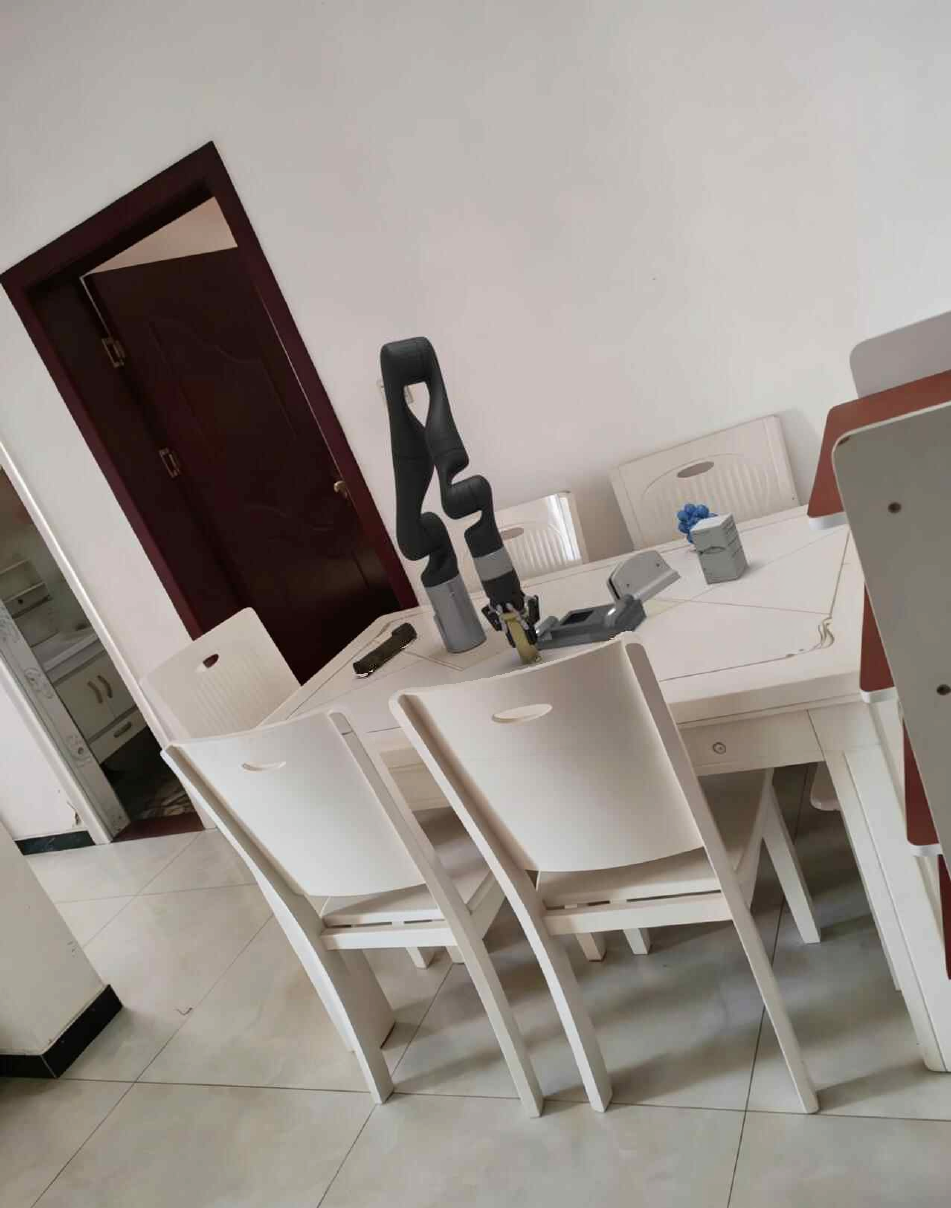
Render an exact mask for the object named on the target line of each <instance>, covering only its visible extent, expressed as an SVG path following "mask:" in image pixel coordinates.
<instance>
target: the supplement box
mask: <svg viewBox="0 0 951 1208" xmlns="http://www.w3.org/2000/svg"><path fill="white" fill-rule="evenodd" d="M690 534H691V537H692V540H693V543H694V544H693V545H694V546H693V547H694V548H695V552H696V555H697V558H698V560H699V561H698V562H699V564H700V567H701V570H702V574H703V576H704V579H705V583H706V585H710V584H714V583H715V584H716V583H719V582H720V583H721V582H727V581H735V580H738V579H739V578H740V577H742V575H743V574H744V573H745V571H746V570H747V569H748V568H749V564H748V561H747V558H746V555H745V551H744V548H743V545H742V541H741V539H740V538H741V537H740V535H739V532H738V529H737V526H736V522H735V519H734V515H733V513H728V514H722V515H718V516H717V517H711V518H706V519H702V520H700V521H699V522H698V523H697V524H696V525H695V526H694V527H693V528H692V529H691V530H690Z"/></svg>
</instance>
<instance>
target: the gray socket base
mask: <svg viewBox="0 0 951 1208" xmlns="http://www.w3.org/2000/svg"><path fill="white" fill-rule="evenodd" d="M646 617H647V613H646V611H645V609H644V606H643V604H642V603H641V600H640V599H637V600H635V598H634V597H633V596H632V595H631V594H624V595H623V596H622V597H621V598H620V599H619V600H618V601H617V602H616V603H615V602H613V603H609V604H603V605H598V606H591V607H590V606H589V607H585V608H584V607H583V608H579V609H574V610H569V611H568V612H567V613H566V614H565V615H563V617H562V618H561V619H560V620H559V619H558V617H556V616H555V615H548V617H546V618H545V620H543V621H542V622H541V623H540V624H539V625H538V626H537V627H535V630H536V633H537V635H538V641H537V643H536V644H535V645H536V647H537V650H538V651H540V650H539V649H543V650H549V649H548V648H550V649H555V648H554V647H557V648H563V647H570V646H577V645H582V644H590V643H597V642H605V641H610V640H609V639H610V638H614V637H615V636H616V635H618V634H620V633H621V632H625V631H633V632H634V631H635V629H636V628H637V627H638V626H639V625H640V624H641V623H642V621H644V619H645V618H646ZM562 646H563V647H562Z"/></svg>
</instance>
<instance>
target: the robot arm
mask: <svg viewBox="0 0 951 1208" xmlns="http://www.w3.org/2000/svg"><path fill="white" fill-rule="evenodd" d="M379 365H380V371H381V378H382V383H383V388H384V389H383V390H384V394H385V395H384V396H385V401H386V406H387V414H388V422H389V435H390V450H391V461H392V469H393V476H394V487H395V537H396V541H397V542H396V543H397V546H398V548H399V550H400V553H401V554H402V556H403V557H405V559H406V560H408V561H409V562H410V561H411V562H417V561H420V560H422V559H424V558H425V557H428V561H427V564H426V566H425V568H423V571H422V572H421V573H420V581H421V583H422V586H423V588H424V591H425V593H426V595H427V598H428V600H429V602H430V605H431V607H432V609H433V612H434V614H433V616H432V619H433V621H434V623H435V626H436V628H437V630H438V632H439V635H440V637H441V640H442V641H443V644H444V646H445V649H446V651H447V652H451V653H454V652H456V653H460V652H464V651H465V652H466V651H468V650H470V649H473V648H475V647H477V646H479V645H480V644H482V643H483V642H484V641H485V640H486V639H487V635H486V633H485V630H484V628H483V626H482V623H481V621H480V620H481V619H480V618H479V615H478V613H477V611H476V607H475V605H474V603H473V601H472V598H471V595H470V593H469V591H468V588H467V586H466V584H465V582H464V579H463V577H462V574H461V572H460V569H459V565H458V563H459V561H458V557H457V555H456V552H455V549H454V545H453V542H452V540H451V537H450V534H449V532H448V529H447V527H446V525H445V523H444V521H443V520H442V518H441V517H440V516H439V515H438V514H437V513H436V512H433V511H425V512H422V510H423V509H422V508H423V504H424V501H425V497H426V494H427V492H428V490H429V487H430V485H431V482H432V480H433V479H432V478H433V476H434V471H435V470H436V473H437V477H438V485H439V494H440V496H439V497H440V504H441V508H442V510H443V512H444V514H445V515H446V517H448V518H449V519H451V520H455V521H457V520H460V519H461V520H462V519H463V518H465V517H468V516H470V515H473V514H476V513H478V512H480V511H481V514H480V517H479V519H478V520H477V521H476V522H475V523H473V524H472V525H470V526H469V527H468V528H466V529H465V530H464V533H463V538H464V541H465V543H466V546H467V548H468V550H469V554H470V556H471V558H472V561H473V565H474V568H475V571H476V573H477V576H478V579H479V581H480V583H481V586H482V588H483V591H484V593H485V596H486V597H487V599H489V603H487V604H485V606H483V607H482V608H481V609H480V611H481V614H482V615H483V616H484V617H485V618H486V620H487V621H488V623H489V624H490V625H491V627H492V628H493V629H494V631H495V632H498V633H499V632H503V633H504V634H505V637H506V640H507V641H508V644H509V645H510V647H512V648H513V649H517V648H516V646H515V643H514V641H513V638H512V636H511V633H510V631H509V628H508V626H507V623H506V621H505V620H502V619H501V616H500V614H504V613H505V612H515V613H516V615H517V617H516V620H517V621H519V622H520V623H521V624H522V626H523V627H524V629H525V630H524V631H525V634H526V636H527V639H528V641H529V644H530V645H535V644H536V643H537V641H538V635H537V633H536V630H535V629H536V627H535V625H536V624H537V623H539V621H540V620H541V614H540V600H539V596H538V595H536V594H534V595H532V596H530V595H527V594H526V593H525V592H524V591H523V589H522V588H521V587H522V586H521V580H520V578H519V577H518V574H517V571H516V569H515V567H514V563H513V561H512V558H511V556H510V554H509V552H508V550H507V549H506V547H505V543H504V542H503V541H504V540H503V538H502V536H501V533H500V532H499V528H498V525H497V522H496V517H495V511H494V500H493V492H492V486H491V484H490V482H489V480H488V479H487V478H486V477H484V476H483V475H481V474H474V475H471V476H469V477H466V478H464V479H462V480H460V481H457V482H455V483H453V480H454V478H455V477H457V475H458V474H459V473H461V472H463V471H464V470H465V469H466V468H468V466H469V465H470V458H469V455H468V453H467V450H466V446H465V445H464V442H463V441H462V438H461V435H460V433H459V431H458V428H457V425H456V422H455V420H454V417H453V413H452V409H451V404H450V401H449V397H448V393H447V392H448V391H447V389H446V385H445V382H444V377H443V374H442V369H441V367H440V363H439V359H438V355H437V354H436V351H435V348H434V346H433V344H432V343H431V341H430V340H429V339H428V338H427V337H425V336H414V337H409V338H405V339H400V340H395V341H391V342H387V343H385V344H383V345H382V346H381V348H380V354H379ZM420 383H421V384H422V383H424V384H425V386H426V388H427V389H426V390H427V392H428V396H429V402H428V409H427V414H426V419H425V425H423V423H422V422H421V421H420V420H419V419H418V418H417V417H416V415H415V414H414V413H413V411H412V410H411V408H410V407H409V405H408V403H407V400H406V395H405V387H408V386H411V385H413V386H414V385H417V384H420ZM525 604H526V605H525ZM523 609H525V612H524V613H523V614H522V615H521V614H520V613H519V612H521V611H522V610H523ZM518 611H519V612H518Z"/></svg>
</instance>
